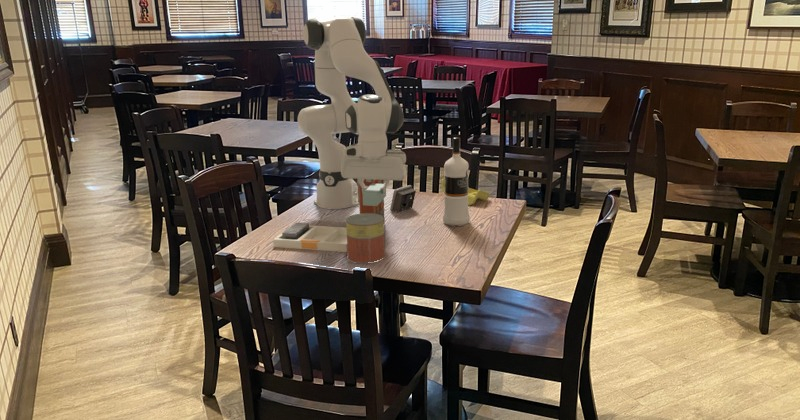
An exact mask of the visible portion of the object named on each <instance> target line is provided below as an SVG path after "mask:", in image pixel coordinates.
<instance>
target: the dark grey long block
mask: <svg viewBox="0 0 800 420" xmlns="http://www.w3.org/2000/svg"><path fill="white" fill-rule="evenodd" d="M309 225H310V223H309V222H295V223H294V224H292V225H290V226H289V227H290V228H289V227H288V228H287V229H285V230H286V231H285V230H284V231H282V232H283V233H282V232H281V233H282V237H283V239H296V240H297V239H299V238H300V237H301V236H302V235H304V234H305V233H306V232H307V231H309Z"/></svg>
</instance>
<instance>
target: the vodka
mask: <svg viewBox="0 0 800 420" xmlns="http://www.w3.org/2000/svg"><path fill="white" fill-rule="evenodd" d="M469 167H470V165H469V162H468V161H467V160H466V159H464V158H462V157H461V137H457V136H456V137H453V138H452V157H450V158H449V159H447V160H446V161H445V163H444V165H443V168H444V169H443V170H444V173H443V175H444V179H445V193H444V209H443V211H444V213H443V216H442V221H443V223H444V224H445V225H447V226H452V227H463V226H465V225H468V224H469V223H470V221H471V220H470V219H471V216H470V213H469V206H468V197H469V195H468V188H469Z"/></svg>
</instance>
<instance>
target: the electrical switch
mask: <svg viewBox="0 0 800 420" xmlns="http://www.w3.org/2000/svg"><path fill="white" fill-rule="evenodd" d="M416 191H417V190H416V189H414V188H413V185H411V184H409V185H405V186H401V187H399V188H394V190H393V193H392V199H391V202H390V203H391V204H390V208H389V210H390V212H391V213H392V212H396V213H397V214H400V213H403V212H405V211H409V210H412V209H411V208H413V206H414V205H413V204H414V201H415V196H416V193H417V192H416ZM402 211H403V212H402ZM399 212H400V213H399Z"/></svg>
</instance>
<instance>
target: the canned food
mask: <svg viewBox="0 0 800 420" xmlns="http://www.w3.org/2000/svg"><path fill="white" fill-rule="evenodd" d="M384 217H385V216H384ZM384 217H383V216H382V215H379V214H374V213H361V214H360V213H356V214H351V215H349V216H347V217H345V225H346V227H345V228H347V247H348V251H347V252H348V253H347V260H348V261H350V262H352V263H354V262H356V263H355V264H361V263H368V262H374V261H377V260H380V259H382V258H384V257H385V258H386V250H385V249H386V248H385V243H386V241H385V221H384ZM385 258H384V259H385ZM368 264H369V263H368Z"/></svg>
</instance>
